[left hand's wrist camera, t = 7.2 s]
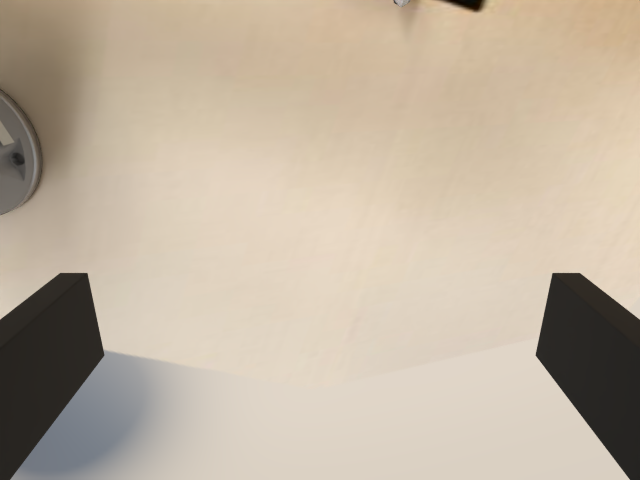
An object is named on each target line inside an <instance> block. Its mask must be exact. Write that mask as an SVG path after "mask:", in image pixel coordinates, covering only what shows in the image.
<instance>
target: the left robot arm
mask: <svg viewBox="0 0 640 480" xmlns="http://www.w3.org/2000/svg"><path fill="white" fill-rule="evenodd" d="M41 171H42V154H41V148H40V144H39V141H38V138H37V135H36V133H35V130H34V128H33V126H32V124H31V123H30V121H29V119H28V118H27V116H26V115H25V113H24V112H23V111H22V109H21V108H20V107H19V106H18V105H17V104H16V103H15V102H14V101H13V100H12V99H11V98H10V97H9V96H8V95H7V94H5V93H4V92H3V91H2V90H0V215H2V214H5V213H7V212H9V211H11V210H13V209H15V208H17V207H19V206H21V205H22V204H23V203H24V202H26V201H27V200H28V199H29V198H30V197H31V195H32V194H33V193H34V191H35V189H36V187H37V185H38V183H39V180H40V176H41ZM103 356H104V351H103V346H102V341H101V337H100V332H99V327H98V322H97V317H96V312H95V308H94V303H93V298H92V293H91V288H90V283H89V279H88V274H87V273H60V274H58V275H57V276H56V277H55V278H53V279H52V280H51V281H49V282H48V283H47V284H46V285H44V286H43V287H42V288H40V289H39V290H38V291H37V292H35V293H34V294H33V295H31V296H30V297H29V298H28V299H26V300H25V301H24V302H22V303H21V304H20V305H19V306H17V307H16V308H15V309H13V310H12V311H11V312H10V313H8V314H7V315H6V316H4V317H3V318H2V319H1V320H0V480H10V479H11V478H12V476H13V475H14V474H15V472H16V471H17V470H18V468H19V467H20V466H21V464H22V463H23V462H24V461H25V459H26V458H27V457H28V455H29V454H30V453H31V451H32V450H33V449H34V447H35V446H36V445H37V443H38V442H39V441H40V439H41V438H42V437H43V436H44V434H45V433H46V431H47V430H48V429H49V428H50V426H51V425H52V424H53V422H54V421H55V420H56V418H57V417H58V416H59V414H60V413H61V412H62V410H63V409H64V408H65V407H66V405H67V404H68V403H69V401H70V400H71V399H72V397H73V396H74V395H75V393H76V392H77V391H78V389H79V388H80V387H81V385H82V384H83V383H84V382H85V380H86V379H87V378H88V376H89V375H90V374H91V372H92V371H93V370H94V368H95V367H96V366H97V364H98V363H99V362H100V360H101V359H102V358H103ZM536 356H537V358H538V359H539V360H540V362H541V363H542V364H543V366H544V367H545V368H546V370H547V371H548V372H549V374H550V375H551V376H552V378H553V379H554V380H555V381H556V383H557V384H558V385H559V387H560V388H561V389H562V391H563V392H564V393H565V395H566V396H567V397H568V399H569V400H570V401H571V403H572V404H573V405H574V407H575V408H576V409H577V410H578V412H579V413H580V414H581V416H582V417H583V418H584V420H585V421H586V422H587V424H588V425H589V426H590V428H591V429H592V430H593V432H594V433H595V434H596V435H597V437H598V438H599V439H600V441H601V442H602V443H603V445H604V446H605V447H606V449H607V450H608V451H609V453H610V454H611V455H612V457H613V458H614V459H615V460H616V462H617V463H618V464H619V466H620V467H621V468H622V470H623V471H624V472H625V474H626V475H627V476H628V478H629V479H630V480H640V320H639V319H638V318H637V317H635V316H634V315H633V314H632V313H630V312H629V311H628V310H627V309H625V308H624V307H623V306H621V305H620V304H619V303H618V302H616V301H615V300H614V299H612V298H611V297H610V296H609V295H607V294H606V293H605V292H603V291H602V290H601V289H600V288H598V287H597V286H596V285H594V284H593V283H592V282H591V281H589V280H588V279H587V278H585V277H584V276H583V275H582V274H580V273H553V274H552V279H551V283H550V288H549V293H548V298H547V303H546V308H545V312H544V317H543V322H542V327H541V332H540V337H539V342H538V346H537V351H536Z"/></svg>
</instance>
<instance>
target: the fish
mask: <svg viewBox="0 0 640 480" xmlns="http://www.w3.org/2000/svg"><path fill="white" fill-rule="evenodd" d="M409 1H410V0H394V3H395V4H397V5H398V6H400V7H402V6H404V5H406V4H407V3H409Z"/></svg>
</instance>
